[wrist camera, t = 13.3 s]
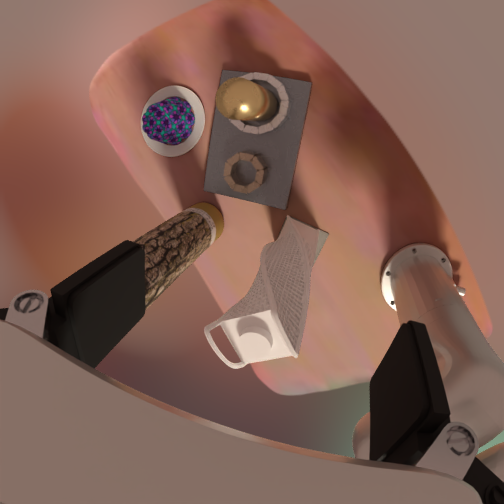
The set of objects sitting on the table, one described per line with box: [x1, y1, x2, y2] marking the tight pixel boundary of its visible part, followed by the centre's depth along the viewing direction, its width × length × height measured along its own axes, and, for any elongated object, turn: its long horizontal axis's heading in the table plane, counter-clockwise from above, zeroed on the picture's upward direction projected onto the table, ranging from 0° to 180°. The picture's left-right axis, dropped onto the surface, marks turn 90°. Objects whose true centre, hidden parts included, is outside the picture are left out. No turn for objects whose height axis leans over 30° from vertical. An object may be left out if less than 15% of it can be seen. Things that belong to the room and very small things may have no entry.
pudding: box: [141, 85, 205, 157], centre depth 43 cm, size 12×12×5 cm
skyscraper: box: [204, 215, 329, 369], centre depth 35 cm, size 8×8×28 cm
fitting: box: [216, 77, 277, 121], centre depth 35 cm, size 5×5×10 cm
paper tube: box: [133, 203, 224, 309], centre depth 39 cm, size 7×7×25 cm
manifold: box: [204, 70, 312, 210], centre depth 41 cm, size 13×19×4 cm
